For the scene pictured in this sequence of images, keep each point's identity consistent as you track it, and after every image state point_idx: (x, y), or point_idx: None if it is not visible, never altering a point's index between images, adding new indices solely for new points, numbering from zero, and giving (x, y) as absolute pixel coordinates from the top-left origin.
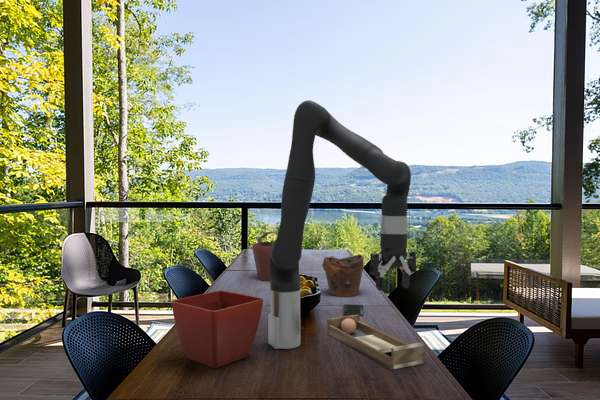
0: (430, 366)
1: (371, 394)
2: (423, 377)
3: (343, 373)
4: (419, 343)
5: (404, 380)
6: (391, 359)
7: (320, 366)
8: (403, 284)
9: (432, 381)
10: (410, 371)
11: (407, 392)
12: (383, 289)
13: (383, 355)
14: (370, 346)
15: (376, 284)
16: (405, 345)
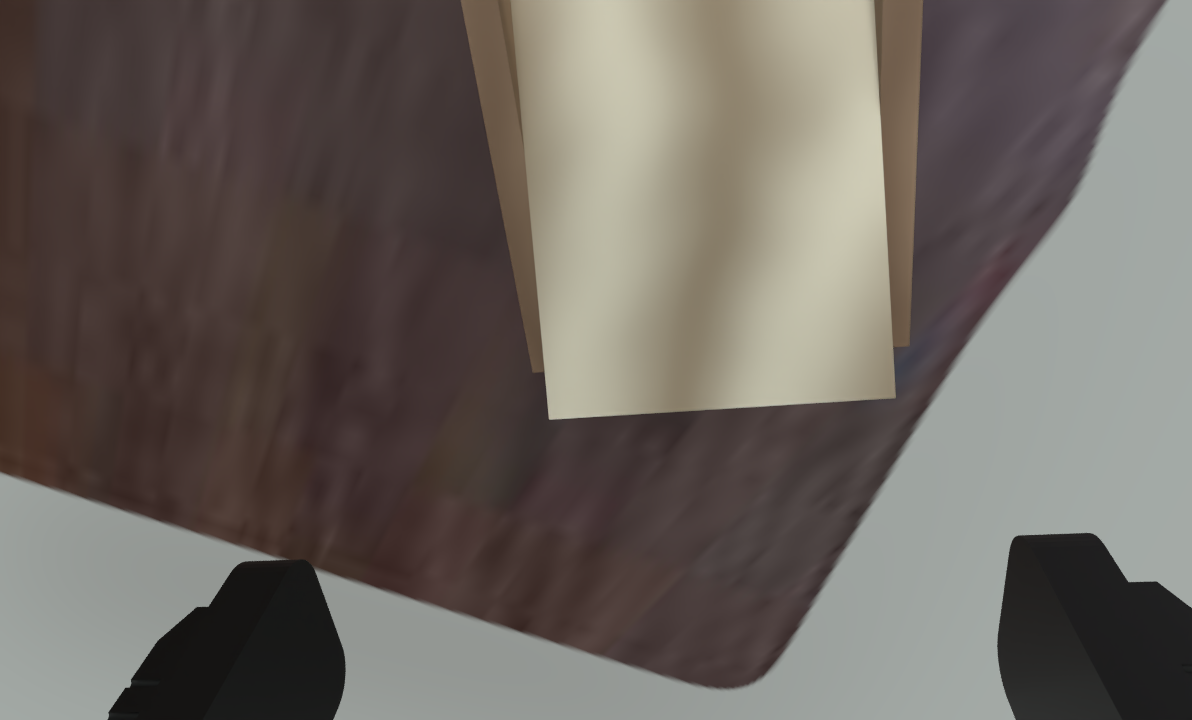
0: None
1: None
2: (694, 495)
3: (197, 273)
4: (844, 400)
5: (553, 491)
6: (543, 368)
7: (38, 90)
8: (1037, 624)
9: (709, 553)
10: None
11: (491, 605)
12: (337, 700)
13: (516, 284)
14: (493, 35)
15: (144, 697)
16: (679, 411)
